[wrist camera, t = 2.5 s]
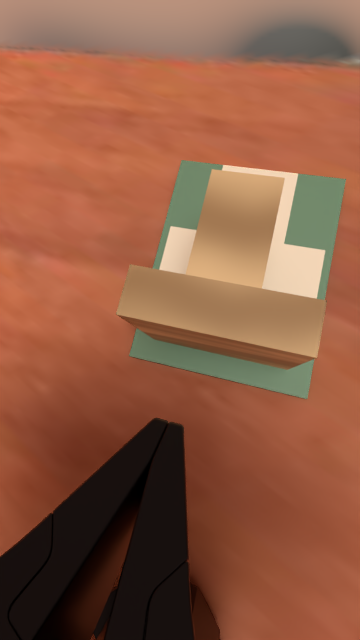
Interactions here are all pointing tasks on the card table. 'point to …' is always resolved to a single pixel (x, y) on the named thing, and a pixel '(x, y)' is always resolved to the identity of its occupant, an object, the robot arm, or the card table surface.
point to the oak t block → (228, 284)
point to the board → (281, 271)
